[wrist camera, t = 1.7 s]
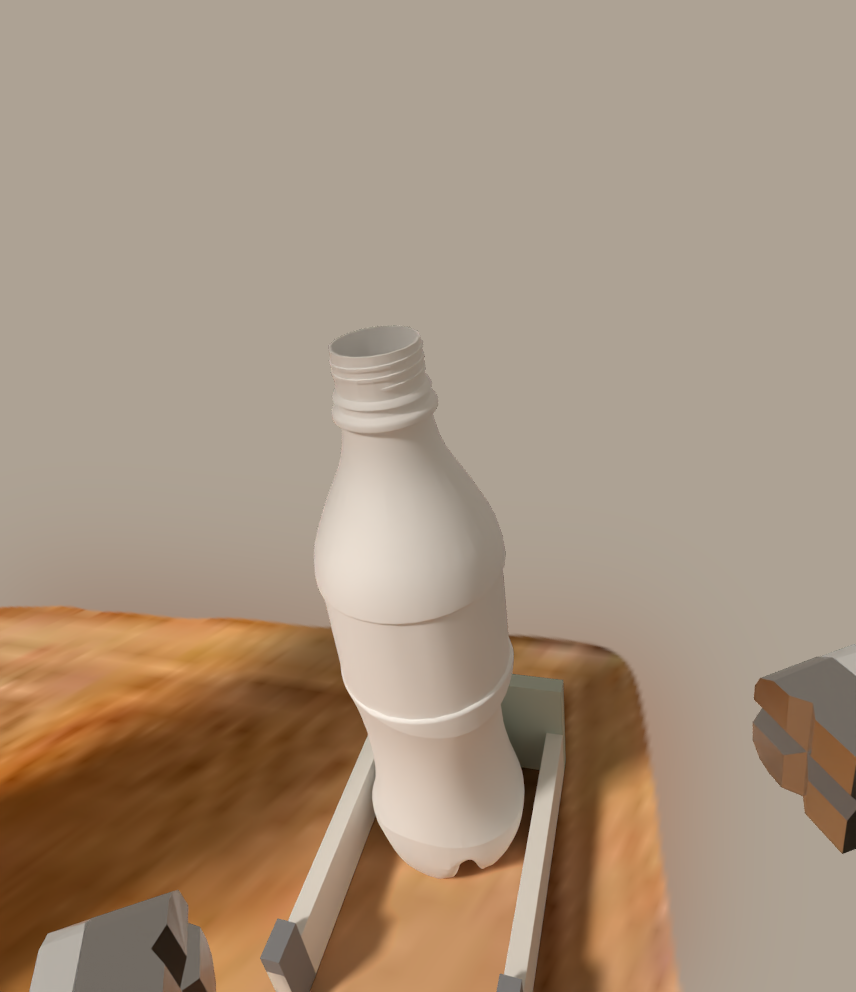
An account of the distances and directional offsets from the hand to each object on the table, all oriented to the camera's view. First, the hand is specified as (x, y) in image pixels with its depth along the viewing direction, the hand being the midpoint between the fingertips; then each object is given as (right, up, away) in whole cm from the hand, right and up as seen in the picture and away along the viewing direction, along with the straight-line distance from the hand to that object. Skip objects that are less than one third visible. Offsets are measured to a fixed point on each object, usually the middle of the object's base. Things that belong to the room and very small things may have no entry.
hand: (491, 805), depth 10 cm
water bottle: (0, -12, +26) cm, 29 cm away
